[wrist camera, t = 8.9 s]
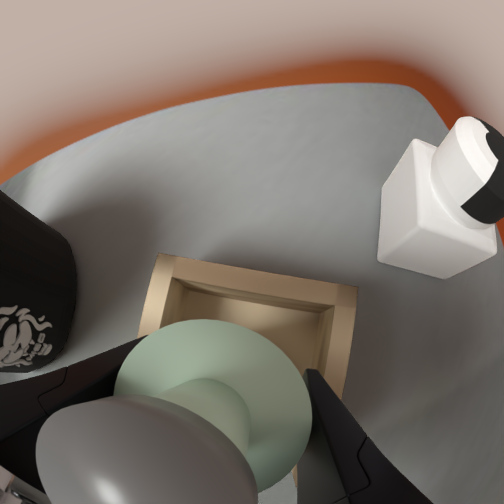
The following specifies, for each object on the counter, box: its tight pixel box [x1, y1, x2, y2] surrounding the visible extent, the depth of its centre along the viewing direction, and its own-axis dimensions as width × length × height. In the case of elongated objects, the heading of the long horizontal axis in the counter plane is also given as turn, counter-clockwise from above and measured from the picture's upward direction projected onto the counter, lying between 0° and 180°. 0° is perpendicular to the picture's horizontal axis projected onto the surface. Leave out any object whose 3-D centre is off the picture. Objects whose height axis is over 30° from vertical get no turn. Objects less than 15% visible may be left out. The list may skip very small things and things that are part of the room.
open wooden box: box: [137, 253, 358, 487], centre depth 15 cm, size 12×12×5 cm
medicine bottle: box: [377, 117, 504, 279], centre depth 15 cm, size 7×7×12 cm
